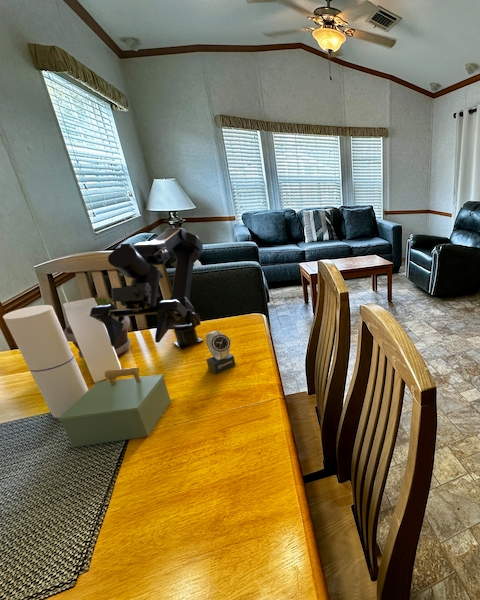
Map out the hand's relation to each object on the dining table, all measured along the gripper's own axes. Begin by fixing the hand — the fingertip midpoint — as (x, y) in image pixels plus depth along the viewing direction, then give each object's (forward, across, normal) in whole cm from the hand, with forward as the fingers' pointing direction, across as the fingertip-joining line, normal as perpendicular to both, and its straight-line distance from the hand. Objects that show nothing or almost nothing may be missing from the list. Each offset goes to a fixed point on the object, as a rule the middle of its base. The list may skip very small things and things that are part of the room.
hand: (135, 344), depth 79 cm
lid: (+13, 0, -3) cm, 13 cm away
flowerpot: (-7, -22, +26) cm, 34 cm away
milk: (+2, -16, +18) cm, 23 cm away
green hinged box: (+18, 0, +1) cm, 18 cm away
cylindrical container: (+12, -15, +7) cm, 21 cm away
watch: (+4, +15, +15) cm, 22 cm away
